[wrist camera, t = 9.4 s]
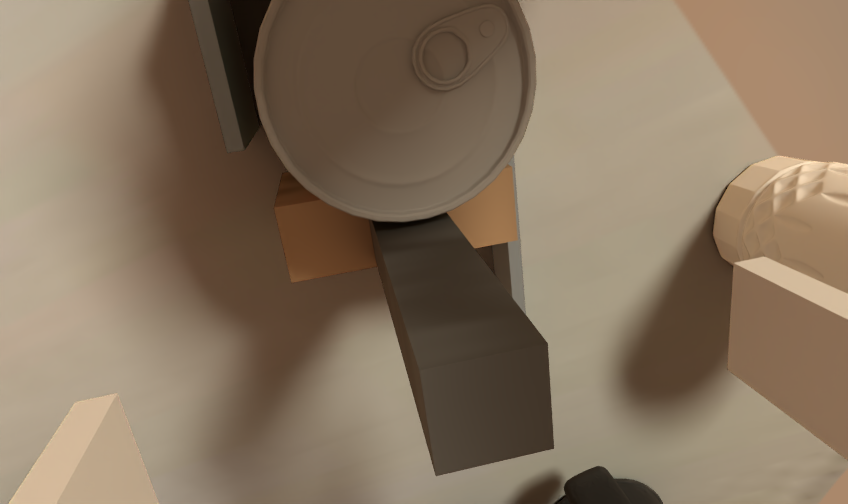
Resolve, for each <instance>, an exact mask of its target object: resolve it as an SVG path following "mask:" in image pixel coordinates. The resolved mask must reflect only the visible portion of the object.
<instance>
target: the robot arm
mask: <svg viewBox="0 0 848 504" xmlns="http://www.w3.org/2000/svg"><path fill="white" fill-rule="evenodd" d="M727 370H729V371H730V372H731V373H733V374H734V375H735V376H737V377H738V378H739V379H741V380H742V381H743V382H745V383H746V384H747V385H749V386H750V387H751V388H753V389H754V390H755V391H757V392H758V393H759V394H761V395H762V396H763V397H765V398H766V399H767V400H769V401H770V402H771V403H772V404H774V405H775V406H776V407H778V408H779V409H780V410H782V411H783V412H784V413H786V414H787V415H788V416H790V417H791V418H792V419H794V420H795V421H796V422H798V423H799V424H800V425H802V426H803V427H804V428H806V429H807V430H808V431H810V432H811V433H812V434H814V435H815V436H816V437H817V438H819V439H820V440H821V441H823V442H824V443H825V444H827V445H828V446H829V447H831V448H832V449H833V450H835V451H836V452H837V453H839V454H840V455H841V456H843V457H844V458H845V459H847V460H848V294H847V293H845V292H843V291H840V290H838V289H836V288H834V287H831V286H829V285H827V284H825V283H823V282H820V281H818V280H816V279H814V278H811V277H809V276H807V275H805V274H802V273H800V272H798V271H796V270H793V269H791V268H789V267H787V266H785V265H782V264H780V263H778V262H776V261H773V260H771V259H769V258H767V257H760V258H755V259H750V260H745V261H741V262H736V263H734V264H733V281H732V298H731V314H730V331H729V347H728V364H727ZM9 504H159V503H158V500H157V497H156V495H155V492H154V489H153V487H152V484H151V481H150V479H149V476H148V473H147V471H146V468H145V465H144V463H143V460H142V457H141V455H140V452H139V449H138V447H137V444H136V441H135V439H134V436H133V433H132V431H131V428H130V425H129V423H128V420H127V417H126V415H125V412H124V410H123V407H122V404H121V402H120V399H119V396H118V394H117V393H116V394H111V395H106V396H102V397H97V398H92V399H88V400H83V401H78V402H75V403H74V405H73V406H72V408H71V409H70V411H69V412H68V414H67V416H66V417H65V419H64V420H63V422H62V423H61V425H60V426H59V428H58V429H57V431H56V432H55V434H54V435H53V437H52V438H51V440H50V441H49V443H48V444H47V446H46V447H45V449H44V450H43V452H42V454H41V455H40V457H39V458H38V460H37V461H36V463H35V464H34V466H33V467H32V469H31V470H30V472H29V473H28V475H27V476H26V478H25V479H24V481H23V482H22V484H21V485H20V487H19V488H18V490H17V492H16V493H15V495H14V496H13V498H12V499H11V501H10V502H9Z"/></svg>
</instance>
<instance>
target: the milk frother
mask: <svg viewBox="0 0 848 504" xmlns="http://www.w3.org/2000/svg"><path fill="white" fill-rule="evenodd" d="M564 491H565V494H566V497H564V498H563V499H562V500H561V501H560V502H558V503H557V504H663V502H662V501H661V499H660V497H659V496H658V495H657V493H656V492H655V491H654V490H652V489H651V488H650V487H649V486H647V485H645V484H643V483H640V482H638V481H635V480H629V479H614V478H613V477H612V476H611V474H610V473H609V472H608V471H607V469H605V468H604V467H601V466H597V467H594V468H591V469H589V470H586V471H584V472H582V473H580V474H578V475H576V476H574V477H572V478H571V479H569V480H568V481H567V482H566V483H565V486H564Z"/></svg>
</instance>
